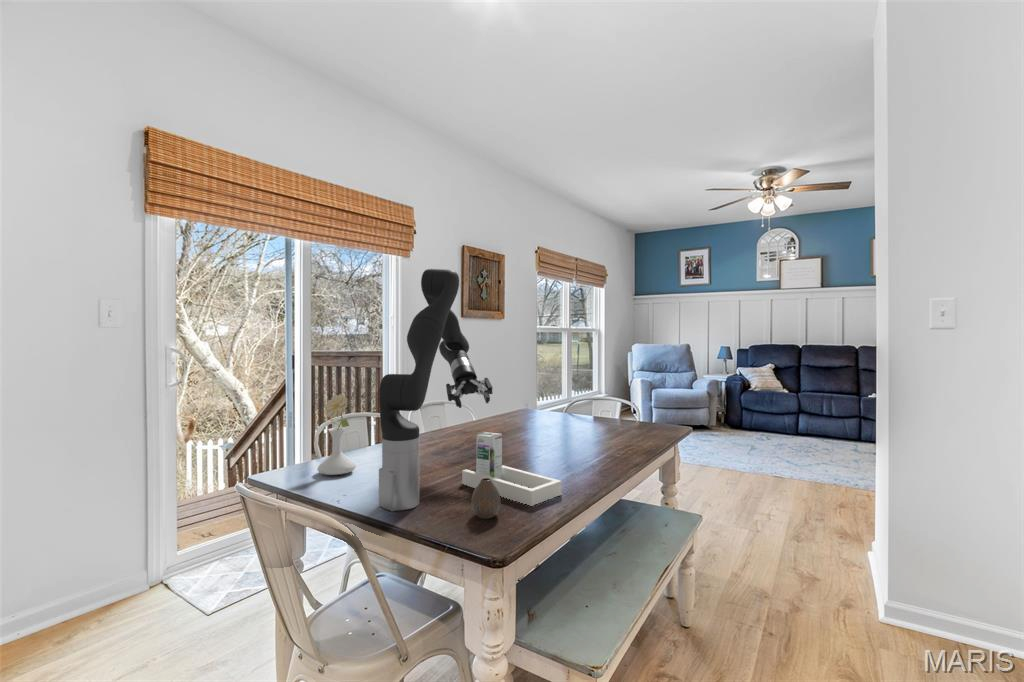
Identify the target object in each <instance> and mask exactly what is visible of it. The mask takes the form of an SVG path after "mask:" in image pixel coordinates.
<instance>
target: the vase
mask: <svg viewBox="0 0 1024 682" xmlns="http://www.w3.org/2000/svg"><path fill="white" fill-rule="evenodd" d="M501 500H502V499H501V497H500V494H499V491H498V489H497V488H496V487H495V485H494V484H493V482H492V480H491V479H490V478H483V479H481V481H480V483H479V485H478V486H477V487H476V488H474V490H473V492H472V496H471V508H472V511H473V512H474V514H475V515H476V516H477V517H478V518H480V519H487V520H488V519H492V518H494V517H495V516H496V515H497V514H498V513H499V510H500V508H501Z"/></svg>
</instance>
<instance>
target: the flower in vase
mask: <svg viewBox="0 0 1024 682" xmlns="http://www.w3.org/2000/svg"><path fill="white" fill-rule="evenodd" d="M346 408H348V398H347V397H346V396H344V395H343V394H341V393H340V394H338V395H337V394H335V395H334V396H332V397H331V399H328V401H327V404H326V405H325V416H326V417H328V418H329V419H330V421H331V422H332V423H334V424H336V425H338V427H332V428H328V429H327V430H328V432H329V433H330V435H331V439H332V452H331V453H330V455H329V456H327V458H325V459H324V460H323V461H322V462H320V463H319V465H318V467H317V472H318V473H319V474H321V475H326V476H339V475H344V474H348V473H350V472H353V471H354V470H355V469H356V468H357V466H356V463H355V461H353V460H352V459H350V458H349V457H348V456H346V455H345V454H344V453H343V452H342V449H341V447H342V446H341V442H342V435H343V433H344V432H345V430H346V428H347V427H349V426H350V425H349V422H348V421H349V420H348V419H347V418H344V419H343V412H345V411H346ZM340 416H341V418H340V419H341V420H340V422H339V421H337V420H335V418H336V417H337V418H338V417H340ZM345 427H346V428H345Z"/></svg>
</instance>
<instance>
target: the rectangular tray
mask: <svg viewBox="0 0 1024 682" xmlns="http://www.w3.org/2000/svg"><path fill="white" fill-rule="evenodd" d="M461 473H462V475H461V476H462V477H461V478H462V479H461V484H462V485H463V484H464V485H465V486H466V485H467V487H469V488H472V489H473V488H474V489H476V487H477V486H478V485H479V483H480V481H481V479H483V478H490V479H491V480H492V482H493V484H494V485H495V487H496V488H497V489H498V491H499V494H500V496H501V497H500V498H503V497H504V498H503V499H506V498H507V499H506V500H509V499H510V500H509V501H512V500H513V502H515V501H517V502H516V503H518V502H520V503H519V504H521V503H523V504H522V505H524V504H527V505H530V506H533V505H535V504H538V503H540V502H543V501H545V500H547V499H550V498H553V497H555V496H558V495H561V494H562V485H563V484H562V483H563V481H562V480H559V479H555V478H553V477H549V476H544V475H542V474H537V473H533V472H530V471H525V470H522V469H518V468H514V467H512V466H507V465H504V464H502V480H501V479H497V478H494V477H491V476H487V475H484V474H480V473H477V472H476V471H473V470H470V469H467V468H466V469H463V470H461ZM514 483H515V484H514ZM521 485H522V486H521ZM528 487H529V488H528ZM527 505H526V506H527ZM538 505H539V504H538ZM530 506H529V507H530ZM533 507H534V506H533Z"/></svg>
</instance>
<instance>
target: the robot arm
mask: <svg viewBox="0 0 1024 682" xmlns="http://www.w3.org/2000/svg"><path fill="white" fill-rule="evenodd" d="M420 284H421V285H420V287H421V292H422V294H423V297H424V299H425V300H426V303H427V306H426V307H424V308H423V309H422V310H420V311H419V312H418V313H417V314H416V315H415V316H414V317H413V319H412V322H411V324H410V327H409V329H408V332H407V335H406V343H407V346H408V349H409V351H410V353H411V355H412V357H413V359H414V364H415V366H414V370H413V372H412V373H411V374H409V373H407V374H406V373H404V374H403V373H387V374H385V375H384V376H383V377H382V378H381V380H380V382H379V383H380V384H379V389H378V401H379V402H378V403H379V420H380V429H381V440H382V441H381V452H382V453H381V461H382V462H381V467H380V468H378V506H379V507H381V508H383V509H385V510H386V511H389V510H390V512H397V511H407V510H410V509H413V508H416V507H418V506H419V504H420V428H419V425H418V424H416V423H415V422H413V421H410V420H408V419H406V418H405V417H403V415H402V414H401V411H405V412H413V411H414V412H415V411H418V410H420V409H421V408H422V406H423V404H424V401H425V400H426V395H427V392H428V386H429V382H430V377H431V373H432V368H433V364H434V361H435V357H436V354H437V352H438V350H439V354H440V355H441V356H442V357H443V359H444V360H445V361H447V363H448V365H449V367H450V373H451V377H452V380H453V383H454V384H450V383H446V384H445V387H446V395H447V399H448V401H449V402H452V401H454V402H455V405H456V407H457V408H459V409H462V401H461V399H462V397H463V396H464V395H466V396H467V395H470V394H471V395H472V394H473V395H474V394H477V395H480V396H482V397H483V398H484V400H485V401H484V402H485V404H489V402H490V401H491V397H490V395H492V394H493V393H494V392H493V385H492V384H491V382H490V380H489V378H488V377H484V378H483V380H480V379H479V378H478V377H477V374H476V371H475V368H474V366H473V364H472V362H471V361H470V358H469V356H468V352H469V350H470V344H469V342H468V340H467V338H466V336H464V334H463V333H462V331H461V326H460V322H459V319H458V316H457V315H456V314H455V313H454V311H453V310H452V306H453V304H454V302H455V300H456V297H457V296H458V292H459V287H460V276H459V274H458V272H456V270H453V269H446V268H445V269H443V268H440V269H439V268H428V269H425V270H424V271H423V272H422V275H421V279H420ZM441 340H442V341H441ZM454 390H455V392H454V393H453V391H454Z"/></svg>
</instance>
